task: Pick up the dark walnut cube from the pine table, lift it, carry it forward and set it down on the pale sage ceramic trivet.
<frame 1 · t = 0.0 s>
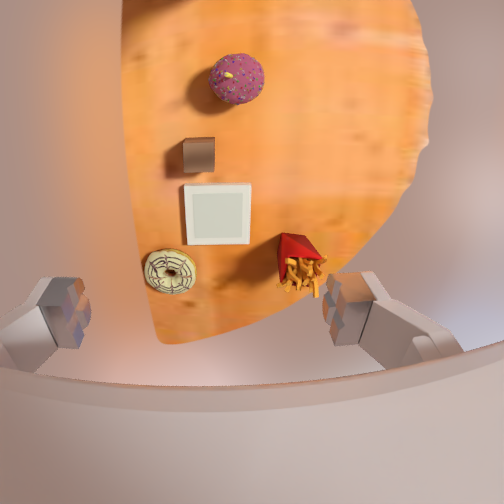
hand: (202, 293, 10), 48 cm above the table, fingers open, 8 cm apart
trivet: (217, 212, 60), on the table
cupcake: (236, 78, 48), on the table
decorated donut: (171, 265, 66), on the table
walnut cube: (200, 151, 54), on the table
french fries: (288, 239, 65), on the table
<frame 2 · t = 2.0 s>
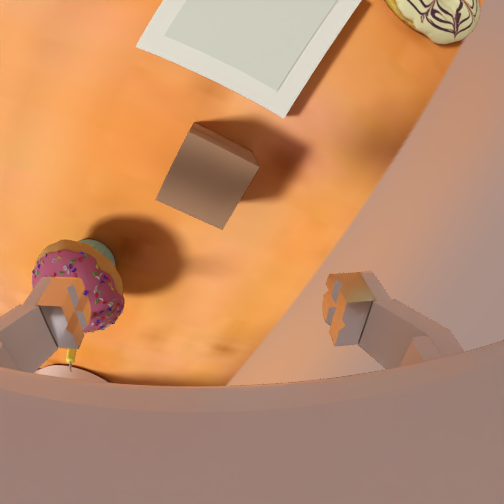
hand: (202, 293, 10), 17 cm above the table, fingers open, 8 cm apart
trivet: (251, 15, 19), on the table
cupcake: (91, 260, 28), on the table
walnut cube: (207, 163, 24), on the table
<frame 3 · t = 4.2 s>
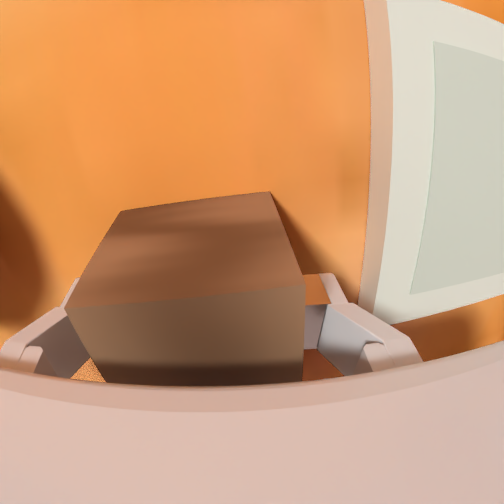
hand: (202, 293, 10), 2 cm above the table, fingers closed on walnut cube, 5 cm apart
trivet: (489, 167, 10), on the table
walnut cube: (204, 265, 11), on the table, touching gripper
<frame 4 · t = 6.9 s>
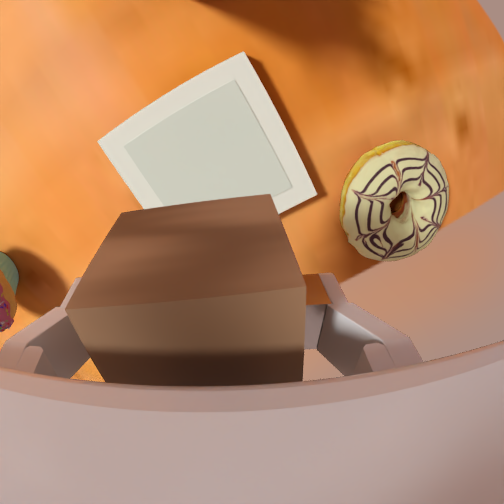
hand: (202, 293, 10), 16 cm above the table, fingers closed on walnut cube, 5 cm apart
trivet: (209, 159, 23), on the table
cupcake: (2, 268, 26), on the table
decorated donut: (385, 195, 27), on the table
walnut cube: (204, 267, 12), point 14 cm above the table, touching gripper
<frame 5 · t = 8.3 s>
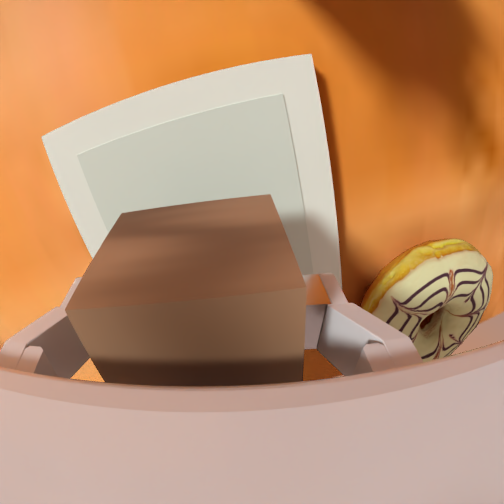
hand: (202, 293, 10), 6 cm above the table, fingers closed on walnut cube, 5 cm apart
trivet: (203, 204, 15), on the table
decorated donut: (413, 294, 21), on the table
walnut cube: (204, 267, 11), point 5 cm above the table, touching gripper
when the fingers open (5 cm above the table, at t = 9.6 s): walnut cube drops 1 cm, resting on trivet.
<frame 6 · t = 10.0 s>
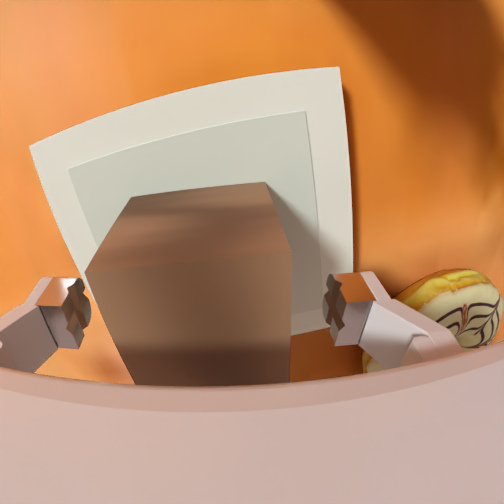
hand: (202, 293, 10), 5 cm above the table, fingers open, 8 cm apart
trivet: (207, 228, 14), on the table
decorated donut: (421, 322, 19), on the table
walnut cube: (204, 247, 13), point 2 cm above the table, touching trivet
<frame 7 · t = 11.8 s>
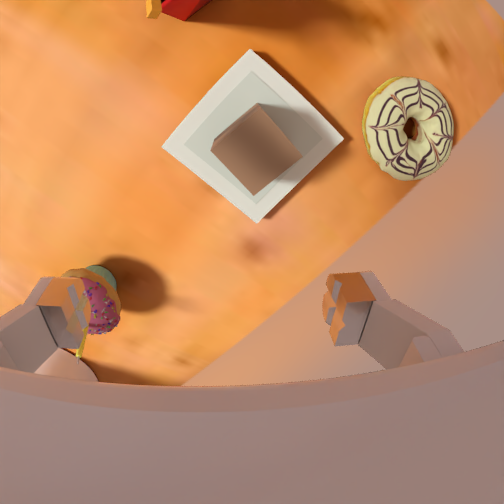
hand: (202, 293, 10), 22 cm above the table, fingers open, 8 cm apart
trivet: (252, 136, 29), on the table
cupcake: (98, 280, 37), on the table
decorated donut: (400, 125, 29), on the table
walnut cube: (253, 140, 28), point 2 cm above the table, touching trivet
french fries: (185, 1, 22), on the table
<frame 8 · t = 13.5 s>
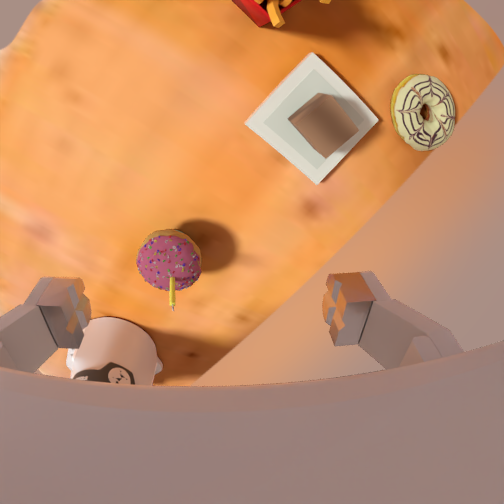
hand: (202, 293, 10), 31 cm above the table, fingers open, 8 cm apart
trivet: (312, 118, 37), on the table
cupcake: (173, 244, 44), on the table
decorated donut: (416, 110, 37), on the table
walnut cube: (316, 120, 36), point 2 cm above the table, touching trivet
french fries: (258, 11, 29), on the table
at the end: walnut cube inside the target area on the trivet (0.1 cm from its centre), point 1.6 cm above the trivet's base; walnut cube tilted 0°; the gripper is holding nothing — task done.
